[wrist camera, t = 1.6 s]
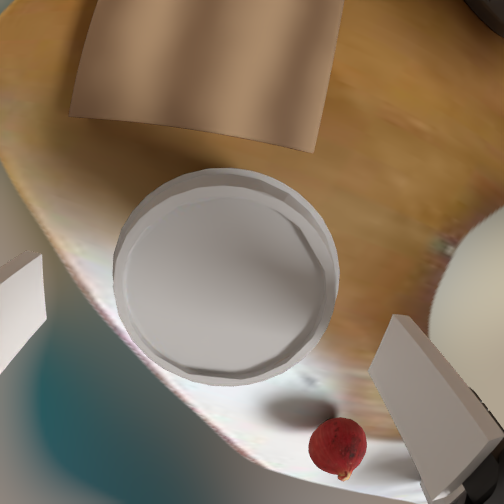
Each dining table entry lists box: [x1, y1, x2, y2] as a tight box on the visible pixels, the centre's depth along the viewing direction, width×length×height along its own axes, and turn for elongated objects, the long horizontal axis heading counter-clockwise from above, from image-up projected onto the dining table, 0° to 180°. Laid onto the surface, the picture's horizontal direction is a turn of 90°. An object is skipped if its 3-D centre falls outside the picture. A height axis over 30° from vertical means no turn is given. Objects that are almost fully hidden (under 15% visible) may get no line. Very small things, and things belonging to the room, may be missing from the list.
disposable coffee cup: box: [113, 168, 340, 386], centre depth 18 cm, size 10×10×12 cm
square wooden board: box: [69, 0, 344, 153], centre depth 17 cm, size 16×16×3 cm
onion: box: [309, 417, 367, 481], centre depth 27 cm, size 6×6×8 cm
